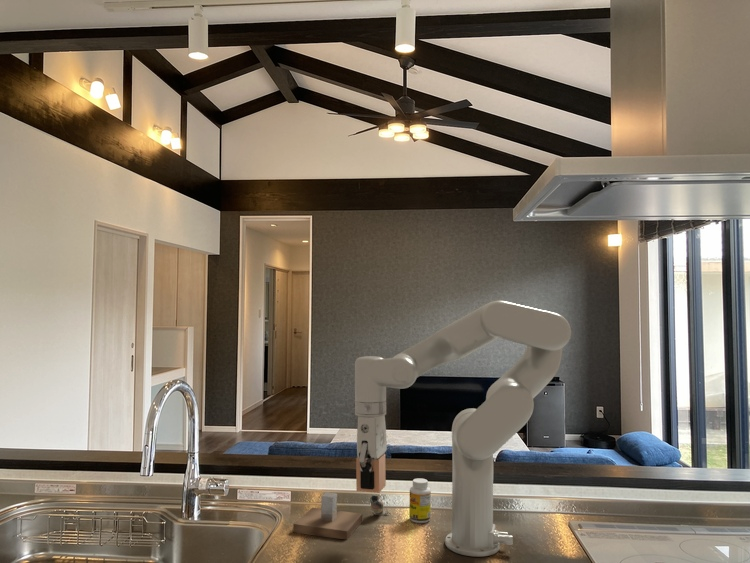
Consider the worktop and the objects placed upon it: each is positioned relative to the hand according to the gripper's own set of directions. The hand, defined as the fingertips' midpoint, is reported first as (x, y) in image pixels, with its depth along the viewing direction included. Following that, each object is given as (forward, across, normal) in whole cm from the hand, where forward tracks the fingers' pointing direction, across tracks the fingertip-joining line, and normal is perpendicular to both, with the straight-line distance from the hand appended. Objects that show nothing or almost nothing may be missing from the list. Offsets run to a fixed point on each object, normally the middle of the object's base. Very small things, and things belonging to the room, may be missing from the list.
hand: (371, 483), depth 132 cm
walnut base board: (+13, +5, +13) cm, 19 cm away
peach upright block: (+1, 0, 0) cm, 1 cm away
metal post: (+11, +5, +13) cm, 18 cm away
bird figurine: (+14, +16, +3) cm, 21 cm away
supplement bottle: (+14, +17, -8) cm, 23 cm away
